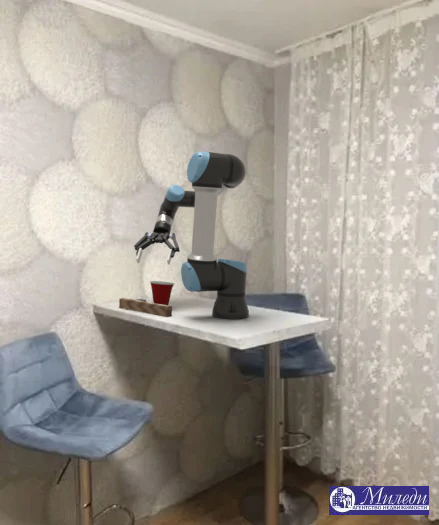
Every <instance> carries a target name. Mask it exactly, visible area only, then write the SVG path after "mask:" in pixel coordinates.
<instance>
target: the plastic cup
mask: <svg viewBox="0 0 439 525" xmlns="http://www.w3.org/2000/svg"><path fill="white" fill-rule="evenodd" d="M149 283H150V288H151V294H152V303H156V304H162V305H168V306H169V303H170V299H171V295H172V290H173V288H174V285H175V283H173V282H170V281H169V282H168V281H160V280H158V281H157V280H149Z"/></svg>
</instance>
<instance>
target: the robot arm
mask: <svg viewBox="0 0 439 525" xmlns="http://www.w3.org/2000/svg"><path fill="white" fill-rule="evenodd" d="M186 176H187V177H186V178H187V181H188V182H190V183H191V187H192V189H193V190H185V188H183V187H182V186H180V185H179V184H172V185H170V186H169V187H168V189H167V191H166V193H165V196H164V198H163V201H162V202H161V205H160V206H159V211H158V215H157V216H156V221H155V224H154V227H153V230H152V233H149V232H147V231H146V232H145V233H144V234H143V236H142V237H141V238H140V239H139V240H138V241H137V242H136V243H135V244H134V245H133V247H134V250H135V251H136V252H135V254H136V257H135V260H136V262H137V264H140V262H141V259H142V255H143V253H144V252H143V251H144V250H145V249H147V248H148V247H150V246H151V245H154V244H165V245H166V246H167V247H168V248H169V252H168V255H167V259H166V261H167V265H171V261H172V258H175V254H176V253H180V251H181V250H180V247H179V244H178V241H177V239H176V238H177V237H176V233H175V232H173V233H172V234H171V231H172V227H173V224H174V220H175V217H176V213H177V211H178V210H179V208H194V209H193V210H194V211H193V212H194V213H193V226H192V227H193V228H192V239H191V240H192V241H191V253H190V254H189V255H188V256H187V260H186V261H184V262H183V263H182V265H181V269H180V276H181V281H182V284H183V286H184V288H185V289H186V290H187V291H188V292H192V293H200V292H203V293H204V292H216V298H215V302H214V304H213V308H212V310H211V311H212V312H211V316H212V317H215V318H219V319H227V320H241V319H240V318H243V319H247V318H249V317H250V311H249V307H248V306H249V305H248V302H247V300H246V288H247V266H246V265H247V264H246V263H245V262H243V261H239V260H233V259H225V258H217V257H216V255H215V254H214V250H215V234H216V232H215V231H216V222H217V221H216V220H217V210H218V209H217V207H218V197H219V196H221V195H222V194H223V193H225V192H227V191H228V190H229V189H235V188H236V187H238V186H239V185H241V184H242V183H243V181H244V180H245V177H246V166H245V164H244V163H243V161H242V160H241V159H240V158H239V157H237V155H233V154H230V153H228V154H227V153H220V152H213V151H212V152H211V151H196V152H194V153H193V154H192V156H191V157H190V159H189V162H188V164H187V170H186ZM169 239H171V240H172V243H173V244H174V245H173V244H172V243H171V241H169Z"/></svg>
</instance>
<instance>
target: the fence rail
mask: <svg viewBox="0 0 439 525" xmlns="http://www.w3.org/2000/svg"><path fill="white" fill-rule="evenodd" d="M118 302H119V304H118V306H119V308H120V309H125V310H130V311H134V312H139V313H143V314H144V313H145V314H149V315H153V316H158V317H165V318H169V317H172V316H173V306H172V305H169V304H168V305H162V304H156V303H154V302H150V301H147V299H144V298H138V299H137V298H136V299H133V298H127V297H121V298H119V300H118Z"/></svg>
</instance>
